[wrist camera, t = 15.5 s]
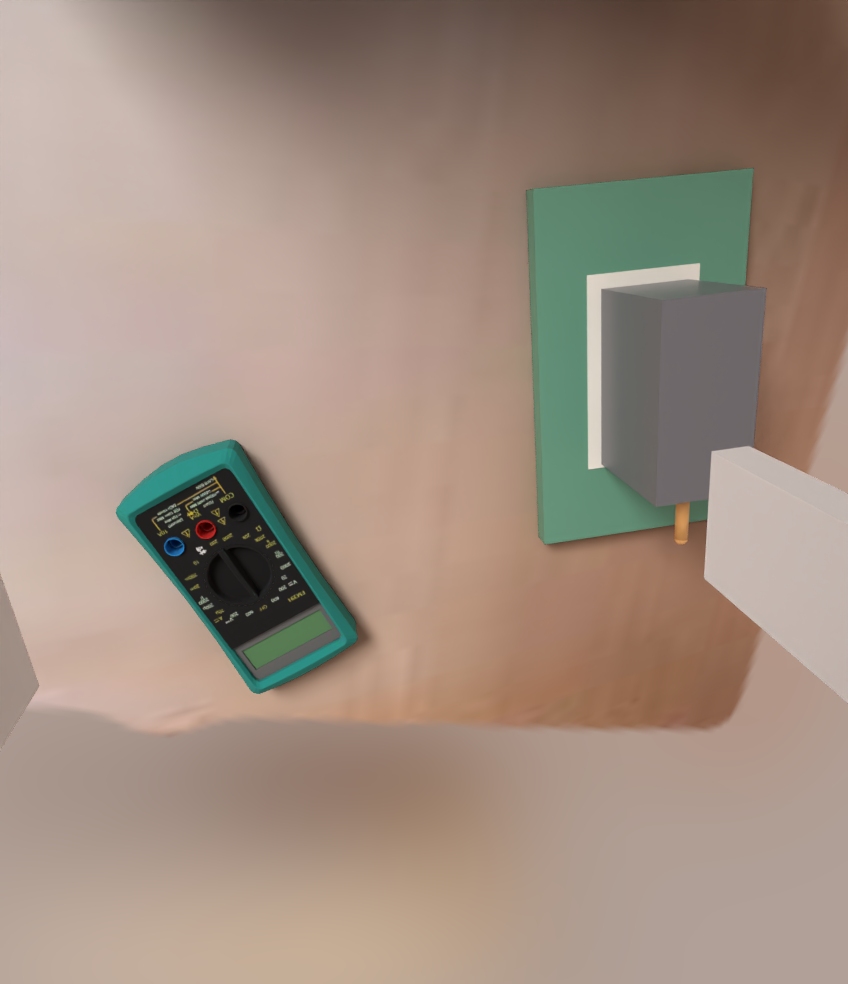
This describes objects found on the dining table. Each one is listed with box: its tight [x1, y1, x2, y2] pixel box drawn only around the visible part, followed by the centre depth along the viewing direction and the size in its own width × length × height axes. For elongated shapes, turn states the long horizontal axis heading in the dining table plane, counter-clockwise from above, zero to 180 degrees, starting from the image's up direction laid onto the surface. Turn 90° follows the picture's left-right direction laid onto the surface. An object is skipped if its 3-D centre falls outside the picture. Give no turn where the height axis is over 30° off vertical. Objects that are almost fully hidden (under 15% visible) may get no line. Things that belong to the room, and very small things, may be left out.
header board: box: [526, 168, 754, 544], centre depth 38 cm, size 20×12×5 cm, turn 5°
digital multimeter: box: [116, 440, 357, 694], centre depth 40 cm, size 7×15×3 cm, turn 27°
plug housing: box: [601, 279, 767, 544], centre depth 37 cm, size 13×5×7 cm, turn 5°
